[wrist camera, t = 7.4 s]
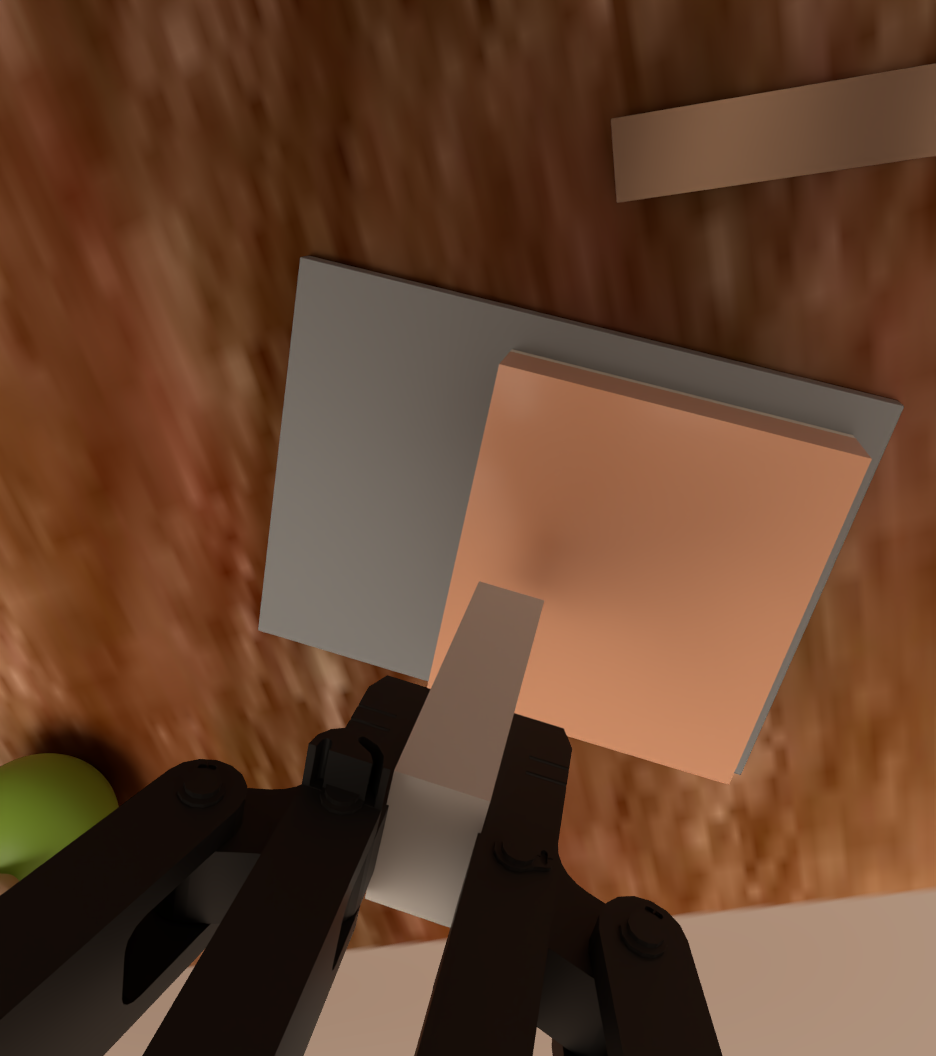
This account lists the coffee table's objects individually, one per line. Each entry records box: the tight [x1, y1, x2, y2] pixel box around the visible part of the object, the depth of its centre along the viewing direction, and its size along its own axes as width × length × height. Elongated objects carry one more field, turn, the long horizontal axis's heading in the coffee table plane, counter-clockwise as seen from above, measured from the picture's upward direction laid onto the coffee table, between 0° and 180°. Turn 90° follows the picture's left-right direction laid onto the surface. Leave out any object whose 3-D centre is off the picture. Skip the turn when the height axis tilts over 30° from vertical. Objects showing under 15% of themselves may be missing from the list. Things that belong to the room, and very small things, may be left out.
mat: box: [258, 256, 904, 775], centre depth 24 cm, size 16×12×1 cm
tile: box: [427, 349, 872, 785], centre depth 23 cm, size 2×10×9 cm
